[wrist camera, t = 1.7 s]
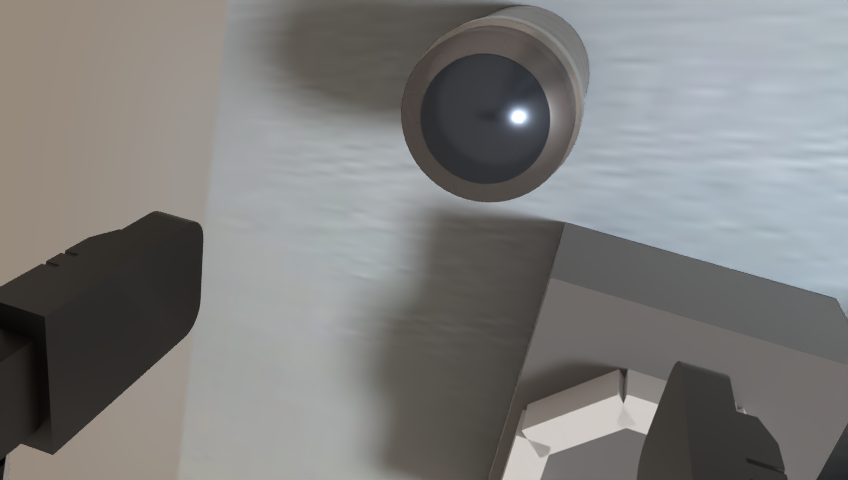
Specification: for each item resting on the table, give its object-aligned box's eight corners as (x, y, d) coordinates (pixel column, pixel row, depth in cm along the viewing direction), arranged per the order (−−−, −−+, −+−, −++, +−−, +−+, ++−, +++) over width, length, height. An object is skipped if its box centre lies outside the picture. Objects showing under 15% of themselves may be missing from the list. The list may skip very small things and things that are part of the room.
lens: (468, -14, 26) (412, 4, 19) (612, 19, 25) (602, 51, 19) (440, 124, 28) (381, 181, 22) (571, 159, 27) (549, 229, 21)
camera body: (565, 222, 28) (545, 298, 22) (836, 299, 27) (890, 402, 21) (483, 491, 34) (451, 606, 28) (700, 568, 33) (713, 706, 27)
